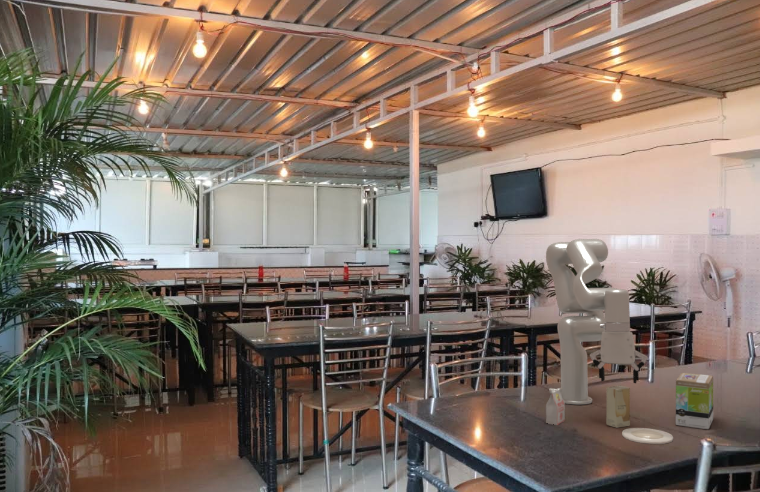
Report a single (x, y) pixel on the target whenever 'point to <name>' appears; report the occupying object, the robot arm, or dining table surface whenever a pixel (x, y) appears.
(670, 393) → the dining table surface
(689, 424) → the tea box
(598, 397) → the dining table surface
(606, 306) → the robot arm
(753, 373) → the dining table surface
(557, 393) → the white milk carton
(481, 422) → the dining table surface
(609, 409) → the skincare box
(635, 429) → the saucer
